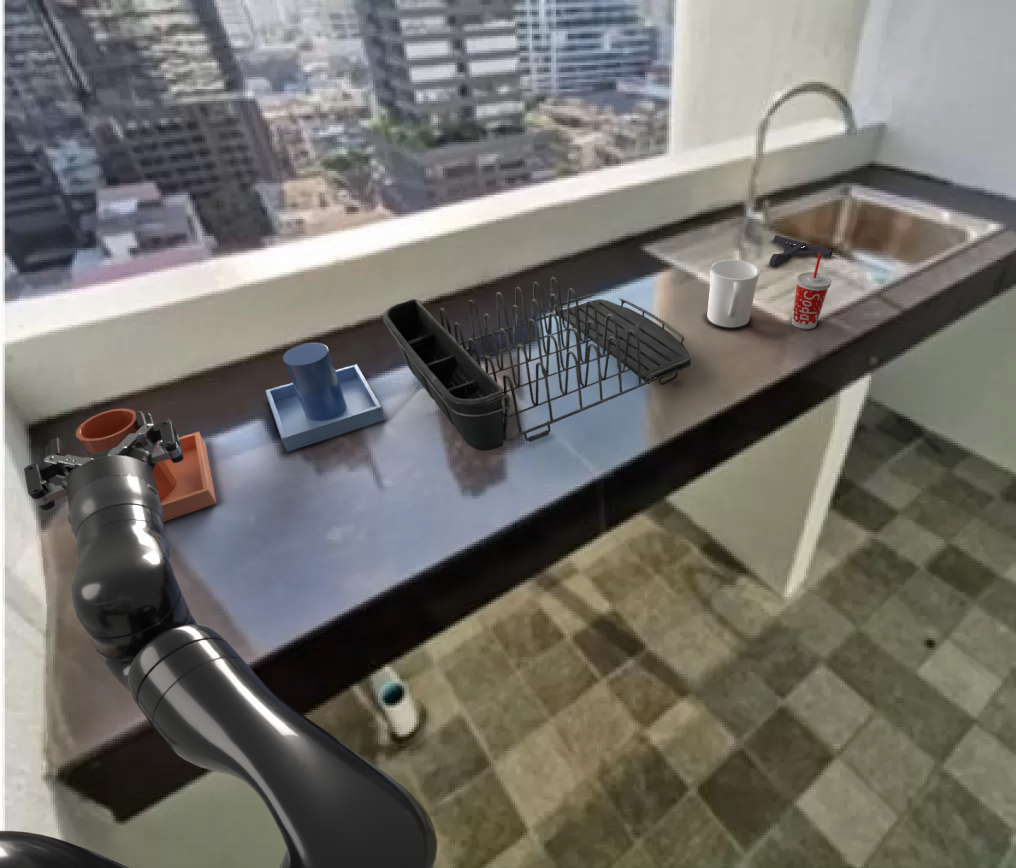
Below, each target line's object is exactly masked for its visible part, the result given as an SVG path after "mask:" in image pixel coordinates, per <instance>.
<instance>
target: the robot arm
mask: <svg viewBox="0 0 1016 868" xmlns="http://www.w3.org/2000/svg"><path fill="white" fill-rule="evenodd" d="M135 414H136V418H137V422H138V425H139V428H140V429H139V430H138V431H137V432H136V433H135V434H129V435H128V436H127V437H126V438H125V439H124V440H123V441H122V442H121V443H120V444H119V445H117V446H114V447H111V448H109V449H106V450H104V451H101V452H97V453H93V454H90V455H89V454H87V455H86V456H85V457H81V456H77V455H72V454H69V451H68V449H67V447H66V446H65V444H64V443H63V441H62V440H61V438H59V437H56V438H52V439H50V444H47V445H46V446H45V448H44V449H45V457H44V458H43V462H42V463H40V464H38V463H31V464H28V465H26V466H25V467H24V468H23V471H24V478H25V484H26V489H27V495H29V497H30V498H31V499H32V500H33V501H34V503H36V505H37V506H38V508H40V510H41V511H48V510H51V509H53V508H54V507H55V506H56V500H58V499H61V498H63V497H67V502H68V503H67V504H68V505H67V506H68V516H67V519H68V523H69V525H70V529H71V532H72V535H73V537H74V539H75V546H76V556H77V561H78V563H77V565H76V568H75V572H74V575H73V578H72V583H71V599H72V604H73V608H74V612H75V614H76V617H77V619H78V621H79V623H80V625H81V626H82V629H84V631H85V634H86V635H87V636H88V638H89V640H90V642H91V644H92V645H93V648H94V649H95V651H96V653H97V654H98V656H99V658H100V659H101V660H102V662H103V664H104V665H105V666H106V668H107V669H108V670H109V672H110V673H111V674H112V675H113V676H114V677H115V679H116V680H117V681H118V682H119V683H120V684H121V685H122V686H123V687H124V688H125V689H126V690H127V691H128V692H130V694H131V696H132V698H133V701H134V702H135V703H136V705H137V707H138V708H139V709H140V711H141V712H142V714H143V715H144V717H145V718H146V719H147V721H148V722H149V723H150V725H151V726H152V728H153V729H154V730H155V731H156V733H157V735H158V736H159V737H160V738H161V740H162V741H163V742H164V744H165V745H166V746H167V747H168V748H169V749H170V750H171V751H172V752H173V753H175V754H176V755H177V756H179V757H180V758H182V759H183V760H184V761H186V762H188V763H190V764H192V765H194V766H196V767H199V768H202V769H206V770H209V771H212V772H217V773H221V774H227V775H229V776H232V777H235V778H237V779H239V780H241V781H242V782H244V783H245V784H247V785H248V786H249V787H250V788H251V789H252V790H253V791H254V792H255V793H256V794H257V795H258V796H259V798H260V799H261V801H262V802H263V803H264V804H265V807H266V808H267V810H268V811H269V813H270V815H271V817H272V818H273V821H274V822H275V825H276V827H277V828H278V831H279V832H280V835H281V837H282V840H283V842H284V844H285V847H286V849H285V852H284V854H283V856H282V859H281V862H280V865H279V867H278V868H435V865H436V862H437V861H436V860H437V853H438V840H437V839H438V838H437V833H436V832H437V830H436V828H435V825H434V823H433V821H432V818H431V816H430V815H429V813H428V811H427V810H426V808H425V807H424V806H423V805H422V803H421V802H420V801H419V800H418V799H417V798H416V797H415V796H414V795H413V794H412V793H411V792H410V791H409V790H407V788H405V787H404V786H403V785H402V784H401V783H399V782H398V781H397V780H396V779H394V778H393V777H392V776H390V775H389V774H387V772H385V771H384V770H382V769H380V768H379V767H378V766H376V765H375V764H374V763H372V762H370V761H369V760H368V759H366V758H365V757H364V756H362V755H361V754H359V752H356V751H355V750H354V749H352V748H351V747H349V746H348V745H347V744H346V743H344V742H343V741H342V740H340V739H339V738H338V737H336V736H334V735H333V734H331V733H330V732H329V731H327V730H326V729H325V728H323V727H322V726H321V725H318V724H317V723H315V722H314V721H313V720H311V719H310V718H308V717H306V715H304V714H303V713H301V712H300V711H298V710H297V709H296V708H294V707H293V706H292V705H290V704H289V703H287V702H286V701H285V700H284V699H283V698H281V696H279V695H278V694H276V692H274V691H273V689H271V687H269V686H268V685H267V684H266V683H265V682H264V681H263V680H262V679H261V678H260V677H259V676H258V675H257V674H256V672H255V671H254V670H253V669H252V668H251V667H250V666H249V664H248V663H247V662H246V661H245V660H244V659H243V658H242V657H241V656H240V655H239V653H238V652H237V651H236V650H235V648H234V647H232V646H231V644H229V642H228V641H227V640H226V639H225V638H223V636H222V635H221V634H219V633H218V632H217V631H215V630H214V629H212V628H210V627H207V626H205V625H201V624H198V623H197V621H196V620H195V618H194V617H193V615H192V613H191V612H190V609H189V607H188V604H187V602H186V600H185V598H184V595H183V592H182V590H181V587H180V584H179V583H178V580H177V577H176V574H175V572H174V570H173V567H172V564H171V561H170V557H171V547H170V541H169V537H168V534H167V530H166V526H165V522H164V512H163V507H162V503H161V499H160V496H159V492H158V488H157V485H156V481H155V477H154V474H153V469H154V468H155V466H156V463H158V462H161V461H164V460H167V459H171V460H172V462H173V463H178V462H180V461H182V460H183V459H184V457H183V452H182V447H181V442H180V437H181V436H180V435H179V433H178V432H177V430H176V429H175V427H174V425H173V422H172V421H171V420H170V419H164V420H161V421H160V422H159V424H157V423H156V421H155V420H154V418H153V416H152V415H151V413H149V412H147V413H144V412H143V410H140V411H136V413H135ZM146 439H147V440H148V441H146ZM158 445H159V446H158ZM133 446H134V447H135V448H133ZM157 446H158V447H157ZM156 447H157V450H156V451H155V452H154V449H155V448H156ZM54 477H56V478H60V479H62V480H61V482H60V484H58V485H57V484H54V483H53V482H51V480H50V479H53V478H54ZM0 868H129V866H127V865H124V864H121V863H120V862H117V861H115V860H113V859H111V858H110V857H109V858H108V857H106V856H104V855H102V854H99V853H97V852H95V851H92V850H90V849H88V848H84V847H82V846H79V845H76V844H74V843H71V842H68V841H66V840H63V839H59V838H56V837H52V836H48V835H45V834H40V833H34V832H28V831H19V830H17V831H16V830H0Z"/></svg>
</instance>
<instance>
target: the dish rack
mask: <svg viewBox="0 0 1016 868" xmlns="http://www.w3.org/2000/svg"><path fill="white" fill-rule="evenodd" d="M549 281H550V283H549V284H550V296H549V313H548V315H546V309H545V302H544V294H543V293H544V292H543V289H542V286H541V284H540V283H539V282H538V281H534V282H533V283H532V284H533V285H532V300H531V318H529V319H528V314H527V307H526V306H527V305H526V301H525V294H524V291H523V289H522V288H521V287H520V286H516V287H515V288H514V295H515V296H514V297H515V298H514V299H515V302H514V303H515V304H514V305H512V308H511V310H512V311H511V314H512V326H510V323H509V317H508V311H507V305H506V300H505V297H504V295H503V294H502V293H501V292H500V291H499V292H496V295H495V298H496V299H495V300H496V301H495V302H496V315H497V316H496V317H497V329H498V330H497V331H495V327H494V323H493V320H492V318H491V316H490V315H489V314H488V313H485V314H484V315H483V322H484V334H483V331H482V325H481V321H480V317H479V311H478V307H477V304H476V302H475V301H474V300H473V299H469V300H468V309H469V318H470V328H471V336H472V337H471V338H468V339H467V340H465V338H464V334H463V333H464V332H463V330H462V327H461V325H460V324H459V323H458V321H457V322H456V321H455V322H454V324H453V330H454V336H455V337H453V332H452V328H451V324H450V319H449V316H448V313H447V311H446V309H445V308H444V307H440V308H439V316H440V323H439V321H438V320H436V319H435V317H434V316H433V315H432V314H431V313H430V311H428V309H427V308H426V307H425V306H424V305H423V304H422V301H421V300H419V299H417V298H412V299H409V300H404V301H402V302H399V303H395V304H394V305H392V306H390V307H388V308H387V309H386V310H385V311H384V312H383V314H382V321H383V323H384V324H385V326H386V327H387V328H388V330H389V332H390V334H391V335H392V336H393V337H394V339H395V340H396V344H397V346H398V349H399V351H400V353H401V356H402V358H403V360H404V362H405V365H406V366H407V367H408V369H409V370H410V372H411V373H412V374H413V376H414V377H415V378H416V379H417V381H418V382H419V383H420V385H421V386H422V387H423V389H424V390H425V391H426V393H427V394H428V396H430V398H431V399H432V400H433V401H434V402H435V405H436V406H437V407H438V408H439V409H440V411H441V412H442V413H443V415H444V416H445V418H446V419H447V420H448V422H450V424H451V425H452V426H453V427H454V428H455V430H456V432H457V433H458V434H459V435H460V437H461V438H462V439H463V440H464V442H465V443H466V444H467V445H468V447H469V446H470V448H472V449H474V450H477V451H484V452H485V451H492V450H497V449H499V448H502V447H504V442H507V441H508V442H509V441H511V440H514V439H516V438H519V437H521V436H524V440H525V441H526V442H529V443H531V442H533V441H536V440H539V439H542V438H543V437H546V436H549V435H550V432H551V425H552V424H554V423H558V422H559V421H562V420H564V419H567V418H569V417H572V416H575V415H576V414H579V413H582V412H585V411H586V410H589V409H591V408H593V407H596V406H598V405H601V404H603V403H606V402H608V401H610V400H612V399H615V398H618V397H619V396H620V397H621V396H622V395H625V394H627V393H629V392H632V391H634V390H636V389H639V388H642V387H643V386H646V385H650V384H651V383H653V382H656V381H658V385H659V386H665V385H668V383H671V382H673V381H676V380H677V379H678V377H679V372H682V371H683V370H686V369H687V368H690V367H692V361H693V356H691V354H690V352H689V350H688V349H687V348H686V346H685V345H684V340H685V336H684V335H683V334H682V333H680V332H679V331H678V330H676V329H675V328H674V327H672V326H671V325H670V324H668V323H667V322H665V321H664V320H663V319H661V318H659V317H658V316H657V315H655V314H653V313H651V312H649V311H648V310H646V309H644V308H642V307H641V306H638V305H637V304H634V303H632V302H630V301H628V300H626V299H624V298H621V297H619V298H618V300H620V302H621V303H620V305H619V304H617V303H615V302H612V301H610V300H606V299H600V298H598V299H594V300H587V301H586V302H584V303H581V304H579V301H582V300H585V299H588V298H592V297H594V296H595V295H596V294H595V293H590V294H587V295H583V296H579V297H578V293H577V292H576V290H575V289H574V288H572V287H570V288H569V289H568V292H567V300H566V301H562V298H561V297H562V296H561V290H560V283H559V280H558V279H557V278H556V277H555V276H552V277H551V278H550V280H549ZM554 282H555V284H556V286H557V295H556V294H555V293H554ZM536 285H537V288H538V289H539V293H540V303H539V301H538V300H537V299H536ZM518 291H519V293H520V294H521V300H522V309H523V315H524V321H525V322H523V318H522V313H521V309H520V308H519V305H518V298H519V297H518ZM571 292H572V293H573V295H574V298H573V299H571ZM499 297H500V299H501V301H502V306H503V310H504V316H505V318H504V319H505V323H506V327H505V328H503V327H501V315H500V301H499V300H500V299H499ZM554 299H555V302H556V304H555V305H554ZM574 302H575V305H574V306H571V303H574ZM624 304H627V305H629V306H631V307H632V308H634V309H636V310H638V311H640V312H641V313H642V314H640V313H638V312H637V311H635V310H632V309H631V308H629V307H626V306H624ZM472 305H473V307H472ZM565 305H566V306H567V307H566V308H563V306H565ZM472 308H474V311H475V316H476V322H477V326H478V327H477V328H478V331H479V336H478V337H477V336H476V337H475V326H474V317H473V309H472ZM536 308H537V310H538V318H537V316H536V315H537V314H536V311H537V310H536ZM554 312H555V313H554ZM645 314H646V315H647V316H649V317H650V318H652V319H654V320H656V321H657V322H658V323H660V324H661V326H660V325H659V324H657V323H656V322H654V321H653V320H651V319H649V317H646V316H645ZM542 315H543V316H542ZM444 318H445V320H444ZM487 319H488V320H489V324H490V330H491V332H490V333H488V320H487ZM547 319H548V320H547ZM553 319H554V320H555V325H556V326H555V327H556V332H553V329H552V325H553V323H552V322H553ZM547 321H548V323H547ZM445 322H446V328H447V329H446V328H445ZM537 322H539V326H540V333H539V327H538V324H537ZM543 322H544V323H543ZM565 322H566V323H565ZM543 324H544V325H543ZM524 326H526V332H527V338H528V341H526V339H525V333H524V331H525V330H524ZM570 326H571V327H570ZM519 328H520V334H521V340H522V343H521V342H520V343H518V344H516V329H519ZM563 328H564V329H563ZM665 328H666V329H668V330H670V331H671V332H672V333H674V334H675V335H676V336H678V337H679V338H680V340H679V339H677V338H676V337H675V336H674V335H673V334H671V333H670V332H669V331H667V330H666V329H665ZM544 329H545V333H546V335H545V334H544ZM511 330H512V334H511ZM458 331H459V334H458ZM552 332H553V333H552ZM564 332H566V334H565V335H566V336H565V341H564ZM571 332H573V334H574V337H575V344H573V345H570V339H571V335H570V334H571ZM535 333H536V338H535ZM497 334H498V335H499V350H498V345H497V340H496V335H497ZM503 335H504V337H505V339H506V346H507V347H505V348H504V345H503ZM540 335H541V336H540ZM555 335H557V339H556V338H555ZM582 335H583V337H582ZM459 336H460V340H461V341H459ZM491 336H492V341H493V342H492V343H493V348H494V351H493V352H490V351H489V350H490V349H489V337H491ZM545 338H546V340H545ZM484 339H485V341H484ZM478 340H479V341H480V342H481V346H482V351H483V353H484V355H480V354H479V349H478V346H477V344H476V341H478ZM551 340H552V341H553V343H554V347H555V348H554V349H555V351H553V352H551ZM536 341H537V348H538V356H537V357H534V358H532V343H533V342H536ZM541 342H542V344H541ZM590 342H593V343H590ZM466 344H468V347H467V346H466ZM526 344H528V352H527V345H526ZM584 344H585V346H584V347H585V350H584V359H583V353H582V345H584ZM542 347H543V353H544V354H543V353H542ZM574 347H576V354H575V353H574V352H573V351H571V350H570V349H571V348H574ZM592 347H593V349H594V350H595V353H596V357H594V358H592V359H591V348H592ZM473 348H474V352H475V356H476V357H473V356H474V355H473ZM515 348H516V364H514V362H513V354H512V349H515ZM600 348H601V349H602V352H601V349H600ZM520 350H521V351H522V353H523V355H524V360H525V361H523V362H521V360H520V359H521V358H520ZM505 351H507V352H508V357H509V364H510V366H508V367H505V365H504V352H505ZM563 351H566V355H565V365H564V359H563V358H564V357H563ZM499 353H500V354H499ZM492 355H495V359H496V364H497V368H498V370H496V368H495V363H494V361H493V359H492V357H491V356H492ZM499 355H500V356H499ZM551 355H555V358H556V368H557V371H556V372H553V373H551V374H549V372H550V371H549V369H550V368H549V365H550V356H551ZM570 355H571V356H572V358H573V360H574V365H572V366H570ZM610 356H611V357H612V358H614V359H615V360H616V367H617V373H614V374H612V375H610V376H607V375H608V367H609V358H610ZM499 357H500V358H499ZM545 357H546V358H545ZM483 358H484V368H485V369H484V368H483V367H482V362H481V359H483ZM543 358H545V359H546V360H545V361H546V363H545V365H544V359H543ZM602 358H605V365H604V373H603V375H602V369H601V368H602V367H601V359H602ZM537 360H539V361H537ZM534 361H537V362H536V364H535V379H534V380H532V378H531V372H530V365H529V363H530V362H534ZM594 361H596V362H597V377H598V378H597V379H598V380H597V381H593V382H592V383H589V384H588V380H589V370H590V363H592V362H594ZM489 364H490V368H491V372H489ZM522 365H525V368H526V375H527V382H526V383H523V384H521V366H522ZM582 365H586V366H585V376H584V383H583V377H582V376H583V375H582ZM539 366H540V371H541V374H542V377H539V374H540V373H539ZM504 367H505V368H504ZM516 367H517V370H516V371H517V378H516V373H515V368H516ZM561 368H562V369H561ZM574 368H575V375H576V385H577V388H575V389H573V390H569V391H568V389H569V388H568V387H569V370H572V369H574ZM510 369H511V374H512V378H511V377H510V375H509V374H507V373H505V374H503V375H502V384H503V385H502V386H503V387H502V386H501V385H500V384H499V382H498V377H497V374H498V373H501V372H504V371H507V370H510ZM630 371H631V372H632V374H634V375H636V376H637V380H638V384H637V385H635V386H632V387H630V388H627V389H625V390H623V379H622V378H623V376H622V374H624V373H627V372H630ZM563 372H565V378H564V389H563V381H562V373H563ZM673 374H675V375H674V376H673V377H670V378H668V379H666V380H664V381H662V380H663V379H664V378H666V377H668V376H672V375H673ZM555 375H558V384H559V386H558V387H559V390H560V393H561V394H560V395H558V396H555V397H551V393H550V387H549V379H548V378H549V377H552V376H555ZM492 376H493V377H492ZM616 376H617V378H618V387H619V388H618V389H619V392H618V393H615V394H612V395H610V396H607V397H605V398H603V396H604V395H603V382H604V381H606V380H609V379H611V378H613V377H616ZM516 379H517V380H516ZM543 380H544V384H545V385H544V386H545V390H546V391H545V392H546V399H547V400H544V401H542V402H539V401H540V400H539V392H540V391H539V390H540V389H539V388H540V387H539V386H540V385H539V383H540V381H543ZM507 381H508V383H509V389H508V387H507ZM642 381H643V382H642ZM533 383H535V398H534V393H533V385H532V384H533ZM596 384H598V389H599V400H598V401H595V402H592V403H590V404H588V405H586V406H583V396H582V395H583V394H582V390H583V389H586V388H588V387H591V386H593V385H596ZM526 386H528V388H529V396H530V401H531V404H532V405H531V406H528V407H526V408H523V409H521V410H519V409H518V402H517V395H516V391H515V390H517V389H520V388H522V387H523V388H524V387H526ZM509 392H511V397H510V395H509V394H508V393H509ZM576 392H577V393H578V394H577V395H578V404H579V408H578V409H576V410H573V411H570V412H568V413H566V414H563V415H561V416H559V417H556V418H554V416H553V408H552V407H553V406H552V401H555V400H557V399H560V398H563V397H565V396H568V395H571V394H573V393H576ZM511 398H512V403H513V407H514V412H513V413H511V414H510V408H511V405H510V401H511V400H510V399H511ZM503 403H504V405H503ZM545 404H547V406H548V413H549V420H547V421H546V422H544V423H540V424H537V425H535V426H533V427H530V428H527V429H525V430H523V431H522V426H521V419H520V414H522V413H524V412H527V411H529V410H532V409H534V408H537V407H539V406H540V407H541V406H542V405H545ZM514 416H515V419H516V425H517V430H518V432H517V433H515V434H512V435H511V436H508V425H509V418H511V417H514ZM545 427H547V429H545V430H543V431H541V432H538V433H536V434H533V435H530V436H528V435H527V434H529V433H532V432H534V431H537V430H540V429H542V428H545Z"/></svg>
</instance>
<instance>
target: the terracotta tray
mask: <svg viewBox="0 0 1016 868" xmlns="http://www.w3.org/2000/svg"><path fill="white" fill-rule="evenodd" d="M179 437H180V442H181V447H182V452H183V457H184V459H183V460H182V461H180V462H178V463H173V462H172V460H171V459H167V460H166V461H167V462H168V464H169V466H170V467H171V469H172V470H173V472H174V474H175V476H176V478H177V483H176V486H175V487H174V489H173V490H172V491H171V492H170V493H169V494H167V495H166V496H164V497H163V498H161V503H162V507H163V512H164V523H165V522H167V521H170V520H173V519H176V518H179V517H181V516H185V515H188V514H191V513H193V512H196V511H199V510H203V509H205V508H208V507H210V506H213V505H216V504H217V499H216V494H215V488H214V482H213V478H212V471H211V465H210V460H209V454H208V449H207V444H206V442H205V441H204V438H203V437H202V435H201V433H200V431H195V432H193V433H189V434H186V435H183V436H179ZM158 446H159V445H158Z"/></svg>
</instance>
